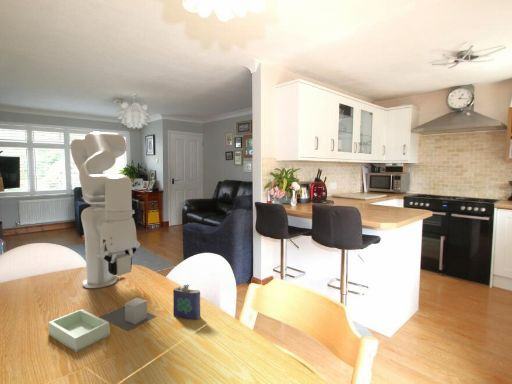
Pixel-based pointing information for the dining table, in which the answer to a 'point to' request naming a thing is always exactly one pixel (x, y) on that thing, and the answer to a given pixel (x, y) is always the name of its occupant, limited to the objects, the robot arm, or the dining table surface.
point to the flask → (186, 303)
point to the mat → (119, 319)
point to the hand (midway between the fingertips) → (120, 270)
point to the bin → (78, 329)
